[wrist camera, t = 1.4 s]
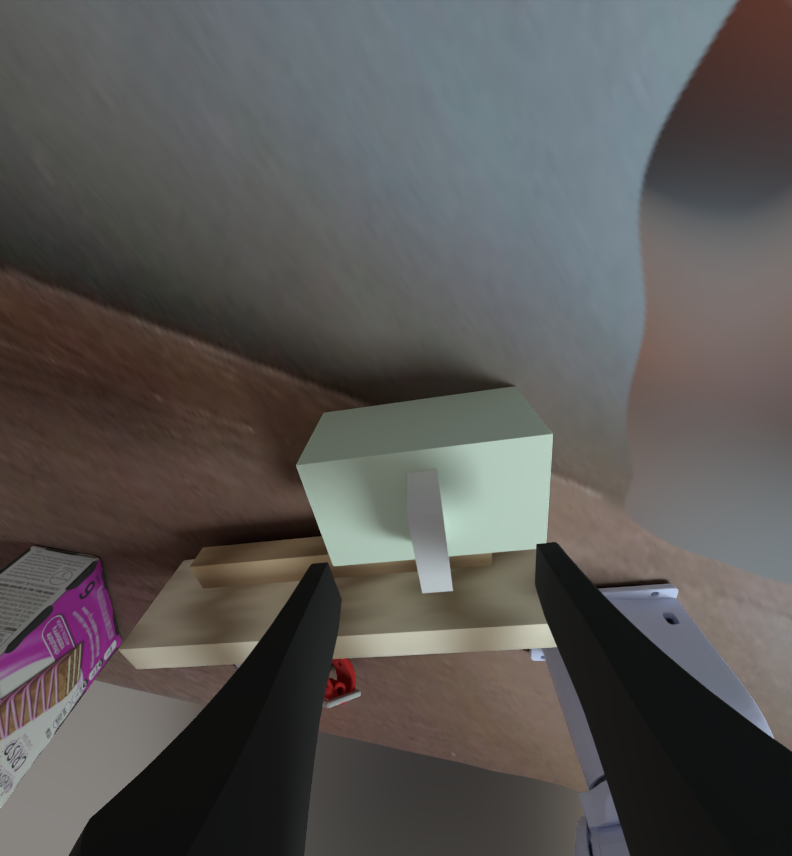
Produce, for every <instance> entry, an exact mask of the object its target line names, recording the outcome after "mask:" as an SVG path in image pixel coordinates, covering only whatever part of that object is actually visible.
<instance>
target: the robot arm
mask: <svg viewBox="0 0 792 856" xmlns="http://www.w3.org/2000/svg"><path fill="white" fill-rule="evenodd" d="M535 587H536V590H537V594H538V597H539V600H540V604H541V607H542V610H543V613H544V616H545V619H546V621H547V624H548V626H549V629H550V631H551V633H552V636H553V638H554V641H555V643H556V645H557V647H553V648H534V649H530V651H529V654H530V657H531V659H532V660H534V661H544V660H546V663H547V666H548V669H549V672H550V675H551V678H552V681H553V684H554V687H555V690H556V693H557V696H558V699H559V702H560V705H561V708H562V711H563V714H564V717H565V720H566V723H567V726H568V729H569V732H570V735H571V739H572V742H573V745H574V748H575V751H576V754H577V757H578V760H579V763H580V766H581V769H582V772H583V775H584V778H585V781H586V784H587V787H588V790H589V791H586V792H582V793H579V797H580V800H581V804H582V807H583V810H584V813H585V816H582V817H581V818H580V819H579V820H578V824H577V828H576V839H575V847H574V849H575V850H574V851H575V852H574V855H575V856H792V752H791V751H790V750H789V749H787V748H786V747H784V746H783V745H782V744H780V743H779V742H778V741H776V740H775V739H774V737H773V735H772V732H771V730H770V728H769V726H768V724H767V722H766V720H765V718H764V716H763V715H762V713H761V711H760V709H759V708H758V706H757V704H756V703H755V701H754V700H753V698H752V697H751V695H750V694H749V693H748V691H747V690H746V688H745V687H744V686H743V684H742V683H741V682H740V680H739V679H738V678H737V677H736V675H735V674H734V673H733V671H732V670H731V669H730V667H729V666H728V665H727V664H726V662H725V661H724V660H723V658H722V657H721V656H720V654H719V653H718V652H717V651H716V649H715V648H714V647H713V645H712V644H711V643H710V641H709V640H708V639H707V638H706V636H705V635H704V634H703V632H702V631H701V630H700V628H699V627H698V626H697V625H696V623H695V622H694V621H693V619H692V618H691V617H690V615H689V614H688V613H687V611H686V610H685V609H684V608H683V606H682V605H681V604H680V602H679V601H678V600H677V599H676V597H677V594H678V589H677V588H676V587H675V586H674V585H673V584H656V585H642V586H628V587H614V588H599V589H598V588H597V587H596V586H595V585H594V584H593V583H592V582H591V581H590V580H589V579H588V578H587V577H586V575H585V574H584V573H583V572H582V571H581V570H580V569H579V568H578V567H577V565H576V564H575V563H574V562H573V561H572V560H571V559H570V557H569V556H568V555H567V554H566V553H565V552H564V550H563V549H562V548H561V547H560V546H559V544H557V543H556V542H552V543H541V544H536V566H535ZM341 602H342V598H341V596H340V593H339V590H338V588H337V585H336V582H335V580H334V577H333V574H332V572H331V569H330V566H329V564H328V562H325V563H314V564H311V565H310V566H309V568H308V569H307V571H306V572H305V574H304V576H303V577H302V579H301V580H300V582H299V584H298V585H297V587H296V588H295V590H294V591H293V593H292V594H291V596H290V598H289V599H288V601H287V602H286V604H285V605H284V607H283V608H282V610H281V611H280V612H279V614H278V615H277V617H276V618H275V620H274V621H273V623H272V624H271V626H270V627H269V628H268V630H267V631H266V633H265V634H264V635H263V637H262V638H261V639H260V641H259V642H258V643H257V645H256V646H255V648H254V649H253V650H252V652H251V653H250V654H249V656H248V657H247V658H246V659H245V661H244V662H243V663H242V664H241V666H240V667H239V668H238V669H237V671H236V672H235V673H234V674H233V676H232V677H231V678H230V679H229V680H228V682H227V683H226V684H225V685H224V686H223V688H222V689H221V690H220V691H219V692H218V693H217V694H216V695H215V697H214V698H213V699H212V700H211V701H210V702H209V703H208V704H207V706H206V707H205V708H204V709H203V710H202V711H201V712H200V713H199V715H198V716H197V717H196V718H195V719H194V720H193V721H192V722H191V723H190V724H189V725H188V726H187V727H186V728H185V729H184V731H182V732H181V733H180V734H179V735H178V736H177V737H176V738H175V739H174V740H173V741H172V742H171V743H170V744H169V745H168V746H167V747H166V749H164V750H163V751H162V752H161V754H160V755H159V756H157V757H156V759H155V760H153V761H152V762H151V763H150V764H149V765H148V766H147V767H146V768H145V769H144V770H143V771H142V772H141V773H140V774H139V775H138V776H137V777H135V779H133V780H132V781H131V782H130V783H129V784H128V785H127V786H126V787H125V788H123V789H122V790H121V791H120V792H119V793H118V794H117V795H116V796H115V797H114V798H112V799H111V800H110V801H109V802H108V803H107V804H106V805H105V806H104V807H103V808H102V809H100V810H99V811H98V812H97V813H96V814H95V815H94V816H92V817H91V818H90V820H89V821H88V823H87V825H86V826H85V828H84V830H83V831H82V833H81V835H80V837H79V838H78V840H77V842H76V844H75V845H74V847H73V849H72V851H71V853H70V854H69V856H304V850H305V840H306V830H307V820H308V809H309V800H310V792H311V784H312V775H313V766H314V758H315V751H316V743H317V736H318V729H319V722H320V716H321V711H322V705H323V700H324V696H325V691H326V687H327V682H328V677H329V673H330V668H331V664H332V659H333V654H334V650H335V645H336V640H337V635H338V630H339V622H340V613H341Z"/></svg>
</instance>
